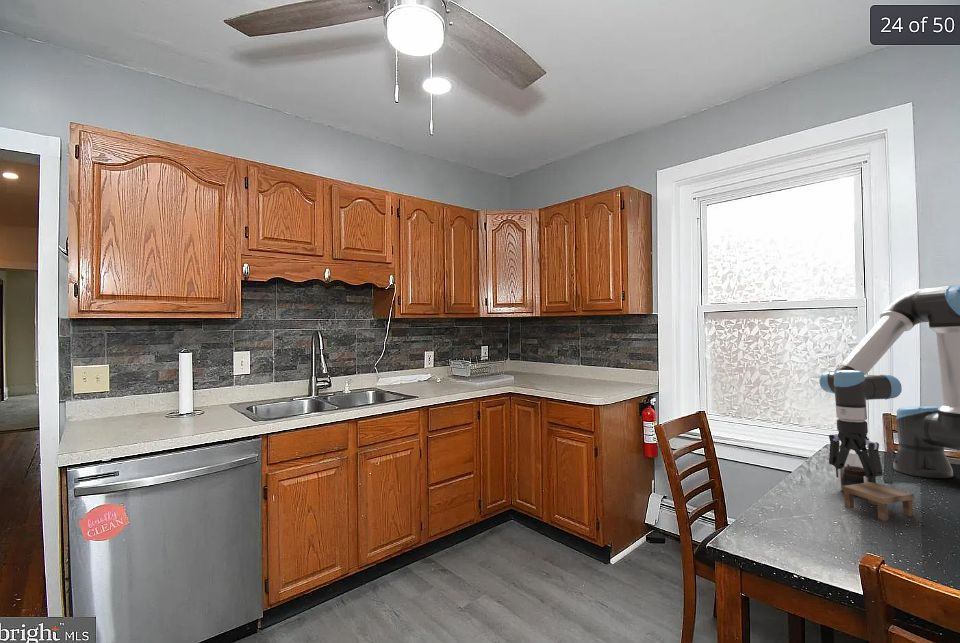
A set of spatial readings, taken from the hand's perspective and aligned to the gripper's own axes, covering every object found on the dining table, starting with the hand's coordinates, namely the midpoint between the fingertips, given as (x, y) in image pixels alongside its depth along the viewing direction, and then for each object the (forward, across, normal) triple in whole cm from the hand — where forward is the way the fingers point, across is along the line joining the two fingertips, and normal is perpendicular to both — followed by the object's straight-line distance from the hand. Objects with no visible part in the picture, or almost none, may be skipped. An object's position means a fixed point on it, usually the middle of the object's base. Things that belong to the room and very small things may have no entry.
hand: (856, 493), depth 142 cm
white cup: (0, -11, +12) cm, 16 cm away
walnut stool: (0, +12, -8) cm, 14 cm away
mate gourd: (0, 0, 0) cm, 1 cm away
